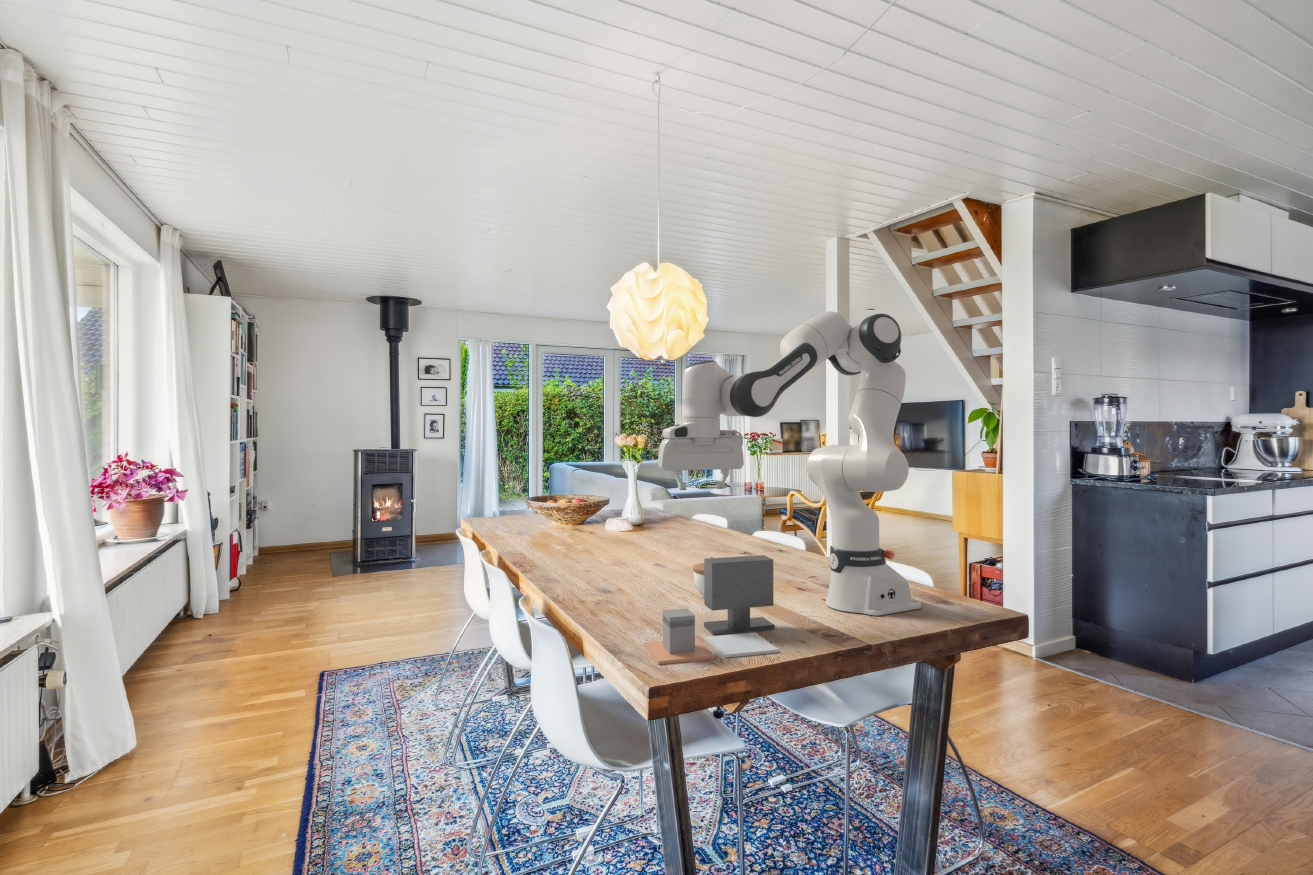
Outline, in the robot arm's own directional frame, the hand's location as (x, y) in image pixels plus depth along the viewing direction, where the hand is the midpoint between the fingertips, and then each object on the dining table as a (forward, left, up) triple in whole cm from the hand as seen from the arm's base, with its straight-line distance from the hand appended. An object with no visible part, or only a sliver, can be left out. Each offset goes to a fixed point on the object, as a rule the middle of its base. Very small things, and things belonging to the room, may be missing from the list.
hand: (701, 489), depth 153 cm
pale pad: (0, +24, -29) cm, 38 cm away
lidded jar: (-8, -14, -29) cm, 33 cm away
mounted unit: (-4, +13, -29) cm, 32 cm away
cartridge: (+13, +24, -28) cm, 39 cm away
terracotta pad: (+13, +24, -29) cm, 40 cm away
